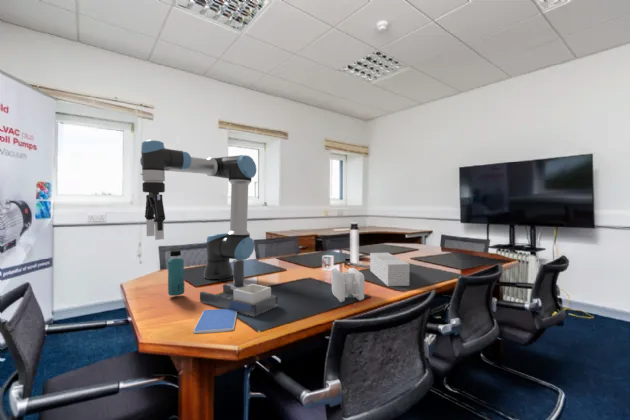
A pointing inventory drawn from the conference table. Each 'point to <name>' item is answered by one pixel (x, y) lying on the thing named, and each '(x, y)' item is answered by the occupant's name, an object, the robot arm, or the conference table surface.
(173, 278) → the beverage bottle
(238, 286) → the open tray with handle
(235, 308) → the bay
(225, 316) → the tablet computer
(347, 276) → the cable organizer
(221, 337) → the conference table surface
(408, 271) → the grey rectangular block
